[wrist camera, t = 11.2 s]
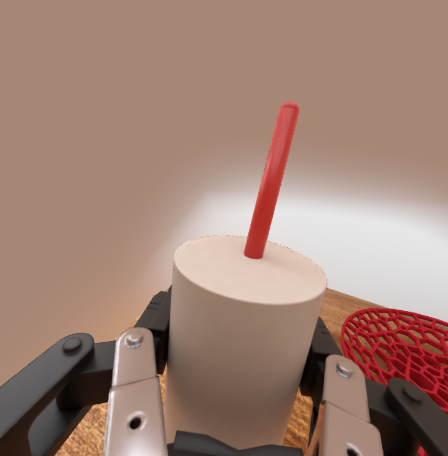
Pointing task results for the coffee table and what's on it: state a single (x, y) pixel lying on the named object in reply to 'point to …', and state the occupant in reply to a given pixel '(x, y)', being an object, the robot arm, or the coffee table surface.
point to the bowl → (409, 363)
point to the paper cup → (242, 323)
